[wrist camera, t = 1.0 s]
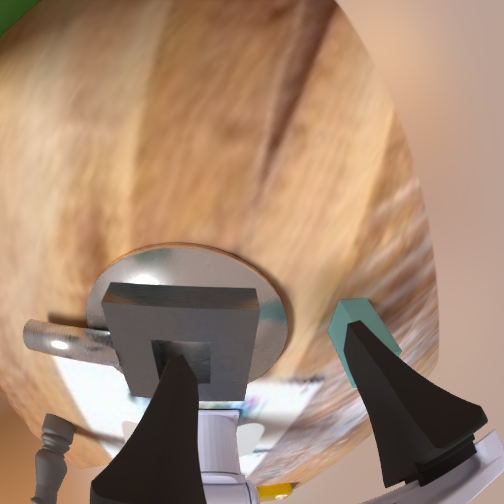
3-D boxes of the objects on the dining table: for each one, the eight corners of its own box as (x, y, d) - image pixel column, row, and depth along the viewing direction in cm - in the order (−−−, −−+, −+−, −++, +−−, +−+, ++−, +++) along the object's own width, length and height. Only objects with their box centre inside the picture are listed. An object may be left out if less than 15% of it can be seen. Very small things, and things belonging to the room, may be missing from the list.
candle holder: (68, 431, 34) (54, 536, 12) (42, 416, 31) (21, 523, 9) (80, 428, 33) (66, 544, 11) (51, 411, 30) (30, 531, 8)
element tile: (244, 487, 60) (245, 499, 55) (291, 481, 61) (294, 493, 57) (243, 493, 67) (245, 504, 62) (284, 488, 69) (287, 499, 64)
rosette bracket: (268, 387, 29) (274, 415, 25) (67, 372, 25) (59, 398, 21) (304, 247, 20) (322, 277, 17) (14, 237, 16) (-11, 260, 13)
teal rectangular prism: (353, 329, 26) (381, 381, 20) (327, 331, 25) (352, 388, 19) (366, 298, 24) (401, 350, 18) (339, 299, 23) (372, 356, 17)
